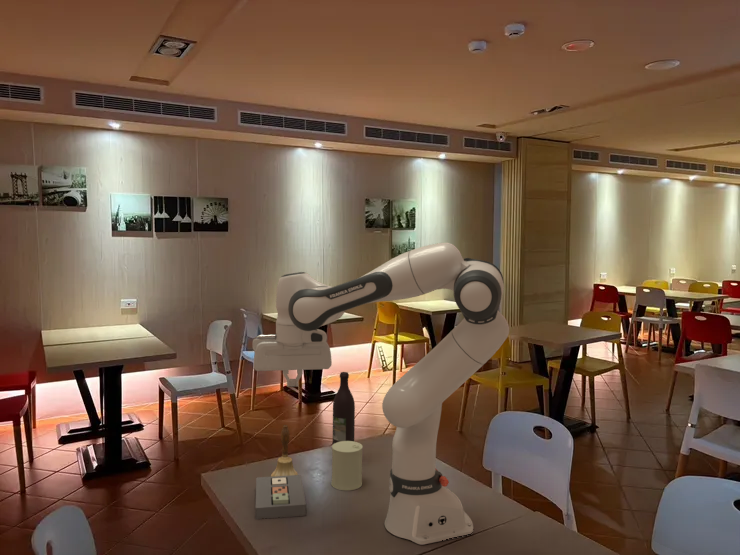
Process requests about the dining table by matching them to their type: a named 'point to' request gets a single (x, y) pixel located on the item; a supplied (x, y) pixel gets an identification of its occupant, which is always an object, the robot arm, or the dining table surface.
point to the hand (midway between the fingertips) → (292, 386)
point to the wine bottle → (343, 412)
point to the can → (347, 465)
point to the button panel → (291, 509)
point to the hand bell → (284, 457)
